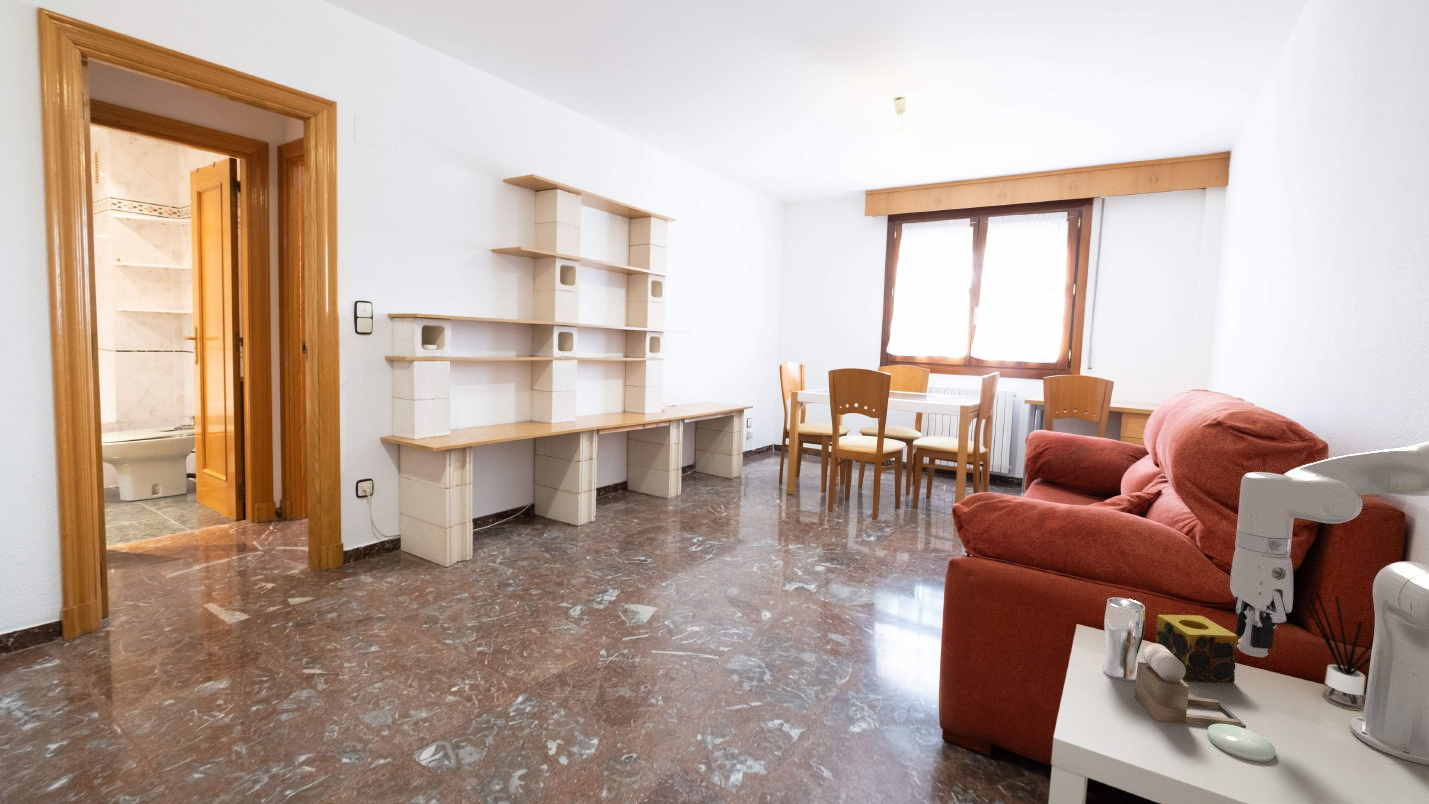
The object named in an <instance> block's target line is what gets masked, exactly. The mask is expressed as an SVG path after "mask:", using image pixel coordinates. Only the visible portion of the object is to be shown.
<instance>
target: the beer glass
mask: <svg viewBox="0 0 1429 804" xmlns="http://www.w3.org/2000/svg"><path fill="white" fill-rule="evenodd" d="M1106 601H1107V602H1106V607H1105V612H1104V613H1105V614H1104V621H1103V622H1104V623H1103V626H1104V637H1105V639H1104V640H1105V648H1106V656H1105V660H1104V663H1103V665H1102V666H1103V667H1102V671H1103V673H1105V674H1106V675H1107V676H1108V677H1110V678H1113V679H1115V680H1119V681H1122V682H1134V681H1135V682H1136V677H1137V662H1138V661H1137V660H1138V656H1139V651H1140V649H1141V646H1142V643H1143V639H1144V636H1145V629H1146V607H1145V605H1144V604H1143V603H1141V602H1139V601H1137V600H1133V599H1131V598H1127V597H1117V596H1116V597H1114V596H1113V597H1109V598H1107V600H1106Z"/></svg>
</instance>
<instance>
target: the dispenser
mask: <svg viewBox="0 0 1429 804" xmlns="http://www.w3.org/2000/svg"><path fill="white" fill-rule="evenodd" d="M1142 656H1143V659H1144V662H1143V661H1142V662H1141V661H1137V665H1136V667H1137V677H1136V680H1135V688H1134V690H1135V692H1134V698H1135V699H1136V701H1138V702H1139V703H1140V705H1141V706H1142V707H1143V708H1144V709H1145V710H1146V712H1147V713H1148V714H1149V715H1150V717H1152V719H1153V720H1154V721H1157V722H1167V723H1176V724H1177V723H1178V724H1185V725H1186V724H1191V725H1192V724H1193V725H1202V726H1210V725H1213V724H1229V725H1234V726H1238V727H1241V728H1244V729H1247V725H1246V724H1245V723H1244V722H1243V721H1242V720H1241V719H1240V718H1239V717H1237V716H1236V715H1235V714H1234V713H1233V712H1232V711H1231V710H1230V709H1229V708H1228V707H1226V706H1225V704H1223V702H1220V701H1219V700H1218V699H1216V698H1215V699H1213V698H1204V697H1194V696H1189V693H1190V686H1189V684H1188V683H1186V682H1185V680H1183V679H1182V678H1183V677H1184V675H1185V672H1186V669H1185V666H1184V664H1183V663H1182V662H1181V661H1180V660H1178V659H1177V658H1176V657H1175V656H1174V655H1173V654H1172V653H1171V652H1170V651H1169V650H1168V649H1166V648H1165V647H1164V646H1163V645H1161V644H1156V643H1151V644H1149V645H1147V646H1146V647H1145V648H1144V649H1143V652H1142ZM1188 706H1192V707H1201V708H1211V709H1219V710H1220V711H1221V712H1222V713H1223V714H1224V715H1225V716H1226V717H1219V716H1211V715H1210V716H1209V715H1201V714H1200V715H1199V714H1191V713H1187V712H1188Z"/></svg>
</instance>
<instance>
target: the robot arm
mask: <svg viewBox="0 0 1429 804" xmlns="http://www.w3.org/2000/svg"><path fill="white" fill-rule="evenodd" d="M1365 495H1397V496H1409V497H1413V496H1414V497H1420V496H1421V497H1423V496H1424V497H1428V496H1429V440H1428V441H1423V442H1420V443H1416V444H1413V445H1412V444H1411V445H1408V446H1405V447H1404V446H1403V447H1398V448H1389V449H1382V450H1380V449H1379V450H1375V451H1369V452H1362V453H1354V454H1353V453H1352V454H1348V455H1342V456H1336V457H1332V458H1331V457H1330V458H1328V459H1324V460H1320V461H1316V462H1313V463H1312V462H1311V463H1307V464H1305V465H1302V466H1298V467H1295V468H1293V469H1290V470H1288V471H1287V472H1285V473H1284V474H1279V473H1274V472H1267V471H1266V472H1264V471H1251V472H1247V473H1245V474H1244V475H1243V476H1242V478H1241V482H1240V489H1239V502H1238V510H1237V511H1238V513H1237V525H1236V533H1235V543H1234V544H1235V545H1234V547H1235V550H1234V553H1233V557H1232V562H1231V563H1232V564H1231V569H1230V579H1229V580H1230V581H1229V589H1230V592H1231V594H1232V596H1233V598H1234V601H1235V604H1236V607H1235V612H1236V614H1237V615H1236V616H1237V617H1236V626H1235V628H1236V629H1235V634H1236V635H1237V637H1239V638H1241V636H1242V635H1243V634H1244V631H1245V628H1246V622H1245V620H1246V619H1247V616H1246V615H1245V613H1244V611H1246V610H1247V607H1251V609H1252V607H1254V608H1255V625H1253V624H1252V630H1251V641H1250V645H1251V646H1252V647H1254V648H1265V649H1268V650H1271V649H1273V643H1274V635H1275V633H1274V632H1275V629H1277V626H1278V625H1279V624H1280V623H1285V622H1287V616H1286V614H1290V613H1292V610H1293V603H1294V602H1293V601H1294V570H1293V569H1294V568H1293V563H1292V558H1291V557H1290V556H1291V549H1292V539H1293V529H1294V519H1296V518H1297V519H1303V520H1308V521H1314V522H1317V523H1324V524H1332V525H1333V524H1342V523H1347V522H1350V521H1351V520H1354V519H1355V518H1356V517H1358V516H1359V515H1360V514H1361V512H1362V509H1363V499H1362V496H1365ZM1372 599H1373V600H1372V602H1373V609H1374V632H1373V633H1374V634H1373V641H1372V648H1371V652H1370V653H1371V655H1370V663H1369V670H1368V679H1367V687H1366V693H1365V701H1364V707H1363V708H1364V709H1363V716H1356V717H1353V718H1352V719H1350V722H1349V729H1350V731H1351V732H1352V734H1353V735H1354V736H1355V737H1357V738H1358V739H1359V740H1361V741H1363V742H1364V743H1365V744H1367V745H1369V746H1371V747H1373V748H1375V749H1376V750H1379V751H1381V752H1382V753H1385V754H1388V755H1391V756H1393V757H1397V758H1400V759H1402V760H1405V761H1407V762H1408V761H1409V762H1413V763H1417V764H1421V765H1424V766H1425V765H1427V766H1429V565H1428V564H1425V563H1421V562H1418V561H1417V562H1416V561H1396V562H1393V563H1389V564H1388V565H1386V566H1385V567H1383V568H1381V569H1380V570H1379V571H1378V573H1377V574H1376V576H1375V578H1374V580H1373V583H1372ZM1267 607H1269V608H1267ZM1263 613H1265V614H1266V616H1265V617H1263ZM1267 614H1268V615H1267Z"/></svg>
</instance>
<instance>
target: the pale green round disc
mask: <svg viewBox="0 0 1429 804" xmlns="http://www.w3.org/2000/svg"><path fill="white" fill-rule="evenodd" d="M1206 735H1207V739H1208V740H1209V741H1210V742H1211V743H1212V744H1213V745H1214V746H1215V747H1217V748H1218V749H1220V750H1221V751H1223V752H1226V753H1227V754H1230V755H1233V756H1235V757H1238V758H1240V759H1244V760H1247V761H1253V762H1258V763H1259V762H1260V763H1262V762H1264V763H1265V762H1271V761H1273V760H1275V759H1274V758H1275V756H1276V747H1275V746H1274V745H1273V743H1271V742H1270V740H1268V739H1266V737H1264V736H1262V735H1260V734H1258V733H1256V732H1254V731H1253V730H1249V729H1247V728H1246V729H1244V728H1241V727H1238V726H1234V725H1229V724H1213V725H1208V728H1207V733H1206Z"/></svg>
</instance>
